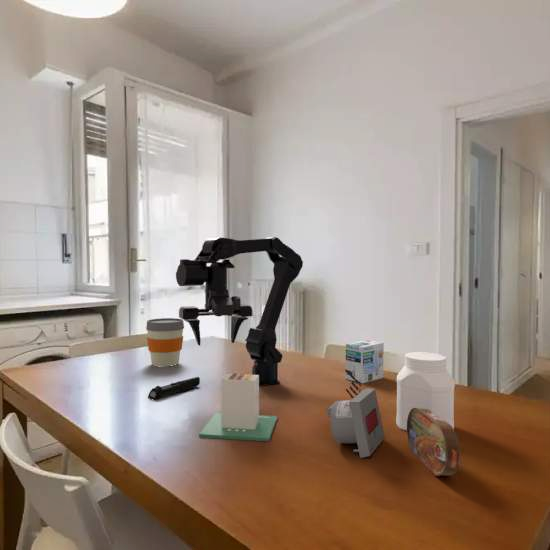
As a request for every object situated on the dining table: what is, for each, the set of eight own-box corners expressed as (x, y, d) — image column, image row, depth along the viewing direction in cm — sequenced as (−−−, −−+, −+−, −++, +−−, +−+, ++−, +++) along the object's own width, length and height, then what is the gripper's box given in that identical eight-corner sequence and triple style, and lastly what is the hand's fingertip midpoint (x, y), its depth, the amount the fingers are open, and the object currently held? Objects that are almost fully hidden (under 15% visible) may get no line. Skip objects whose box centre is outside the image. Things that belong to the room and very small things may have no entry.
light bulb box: (362, 384, 119) (363, 346, 119) (344, 379, 125) (344, 343, 124) (384, 377, 127) (384, 342, 126) (366, 373, 132) (366, 339, 131)
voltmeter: (399, 459, 73) (400, 403, 73) (336, 461, 72) (336, 404, 72) (357, 407, 100) (357, 366, 100) (310, 409, 99) (310, 367, 99)
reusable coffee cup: (167, 358, 151) (167, 317, 151) (191, 363, 144) (191, 320, 144) (138, 364, 141) (138, 320, 141) (162, 370, 134) (162, 324, 134)
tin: (405, 444, 79) (405, 400, 79) (420, 444, 79) (421, 400, 79) (443, 486, 64) (444, 432, 64) (463, 486, 64) (464, 432, 64)
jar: (460, 427, 88) (461, 356, 88) (443, 441, 81) (444, 364, 80) (408, 413, 96) (408, 349, 95) (388, 425, 88) (389, 355, 88)
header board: (215, 415, 94) (215, 399, 94) (277, 418, 92) (277, 402, 92) (198, 436, 82) (198, 418, 82) (268, 441, 80) (269, 422, 80)
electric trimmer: (203, 388, 116) (203, 377, 116) (155, 401, 104) (155, 389, 104) (194, 386, 118) (194, 375, 118) (147, 398, 106) (147, 386, 106)
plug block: (226, 419, 90) (226, 372, 90) (258, 421, 89) (258, 374, 89) (221, 427, 85) (221, 378, 85) (254, 429, 85) (255, 379, 84)
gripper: (187, 287, 99) (187, 352, 99) (260, 286, 107) (260, 347, 107) (178, 285, 109) (178, 344, 109) (245, 284, 117) (245, 339, 117)
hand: (216, 344), depth 110 cm, fingers open, 9 cm apart
